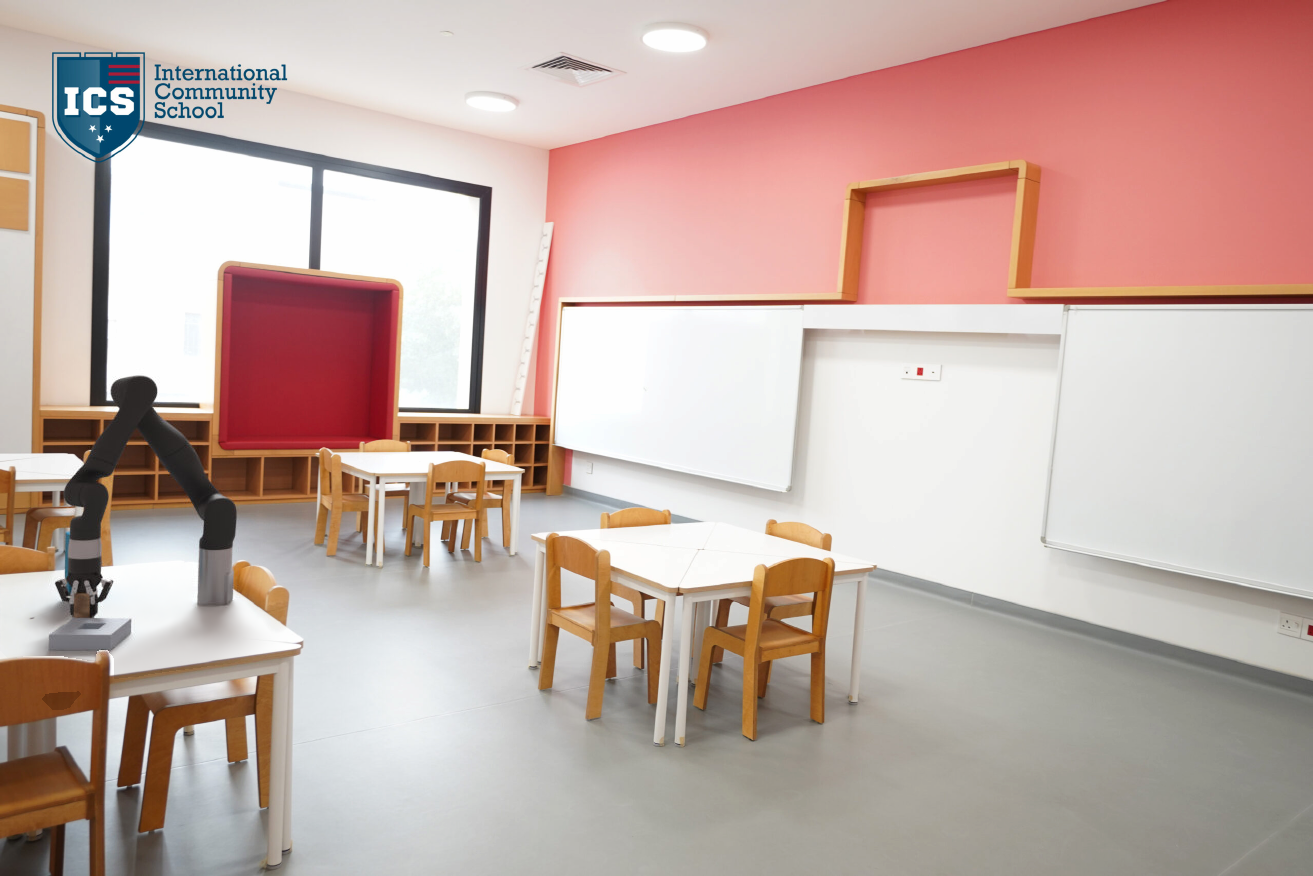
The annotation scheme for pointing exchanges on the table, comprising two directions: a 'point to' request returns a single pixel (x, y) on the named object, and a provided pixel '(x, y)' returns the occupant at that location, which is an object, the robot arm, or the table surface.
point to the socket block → (90, 634)
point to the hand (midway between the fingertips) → (83, 616)
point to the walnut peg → (81, 605)
